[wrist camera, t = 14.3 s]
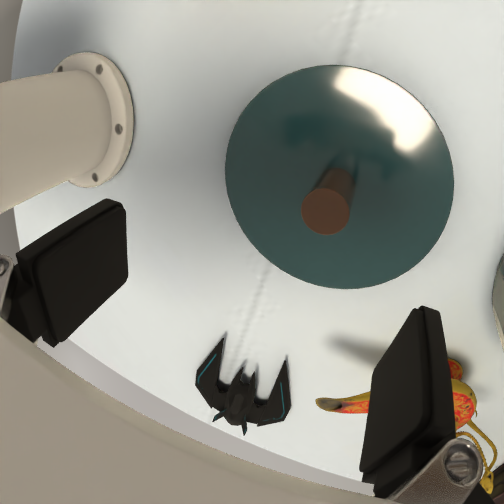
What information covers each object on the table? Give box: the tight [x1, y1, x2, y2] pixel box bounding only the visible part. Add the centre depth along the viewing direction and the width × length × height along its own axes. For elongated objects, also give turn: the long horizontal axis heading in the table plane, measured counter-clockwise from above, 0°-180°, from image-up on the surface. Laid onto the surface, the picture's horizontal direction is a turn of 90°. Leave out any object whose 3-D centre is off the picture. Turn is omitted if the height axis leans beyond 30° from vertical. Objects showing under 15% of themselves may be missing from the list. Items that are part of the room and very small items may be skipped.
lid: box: [225, 65, 454, 289], centre depth 18 cm, size 15×15×6 cm
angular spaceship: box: [195, 338, 291, 435], centre depth 32 cm, size 11×15×3 cm
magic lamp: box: [316, 358, 497, 494], centre depth 20 cm, size 7×18×11 cm, turn 76°
